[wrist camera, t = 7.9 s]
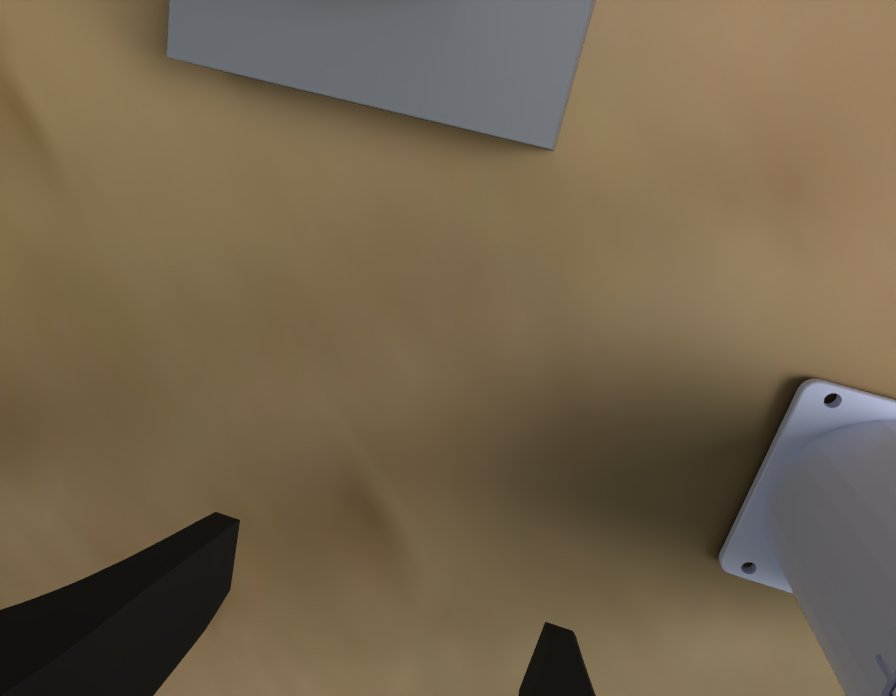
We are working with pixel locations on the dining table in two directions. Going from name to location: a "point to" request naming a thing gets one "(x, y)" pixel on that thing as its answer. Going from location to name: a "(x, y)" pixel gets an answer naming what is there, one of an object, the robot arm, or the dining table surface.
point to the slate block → (402, 55)
